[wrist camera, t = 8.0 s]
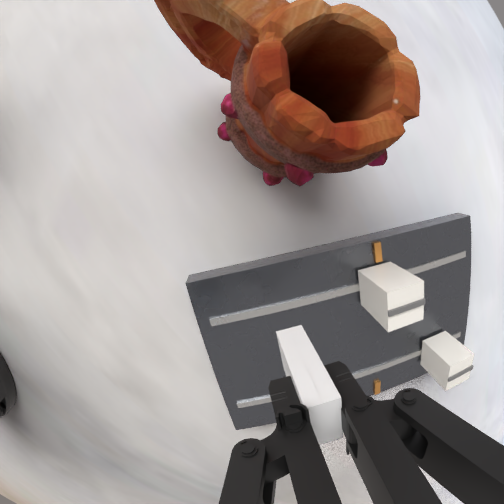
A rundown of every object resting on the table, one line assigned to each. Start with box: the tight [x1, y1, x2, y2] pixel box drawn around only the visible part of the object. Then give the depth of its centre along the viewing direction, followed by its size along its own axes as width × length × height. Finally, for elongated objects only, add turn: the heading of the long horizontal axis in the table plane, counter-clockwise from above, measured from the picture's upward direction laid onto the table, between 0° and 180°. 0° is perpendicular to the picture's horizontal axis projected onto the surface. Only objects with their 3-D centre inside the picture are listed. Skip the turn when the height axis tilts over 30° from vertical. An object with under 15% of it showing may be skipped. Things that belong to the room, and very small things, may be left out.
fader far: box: [420, 331, 474, 391], centre depth 23 cm, size 3×3×5 cm
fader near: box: [358, 262, 425, 332], centre depth 20 cm, size 3×3×5 cm
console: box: [186, 213, 471, 430], centre depth 25 cm, size 26×16×2 cm, turn 102°
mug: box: [154, 0, 420, 186], centre depth 14 cm, size 15×8×15 cm, turn 46°
